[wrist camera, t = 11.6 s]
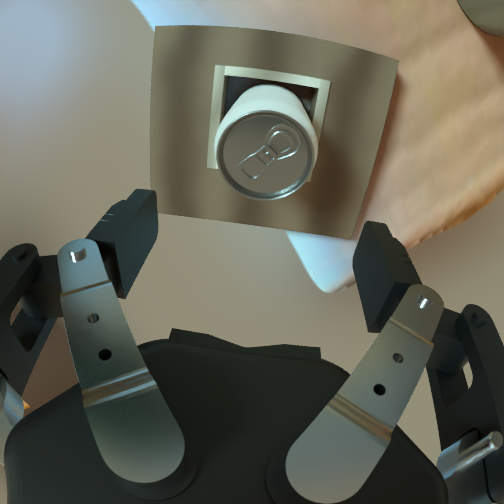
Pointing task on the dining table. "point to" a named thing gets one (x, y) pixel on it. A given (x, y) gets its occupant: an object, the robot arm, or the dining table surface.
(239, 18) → the dining table surface
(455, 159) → the dining table surface
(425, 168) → the dining table surface
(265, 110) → the can
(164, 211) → the socket board
